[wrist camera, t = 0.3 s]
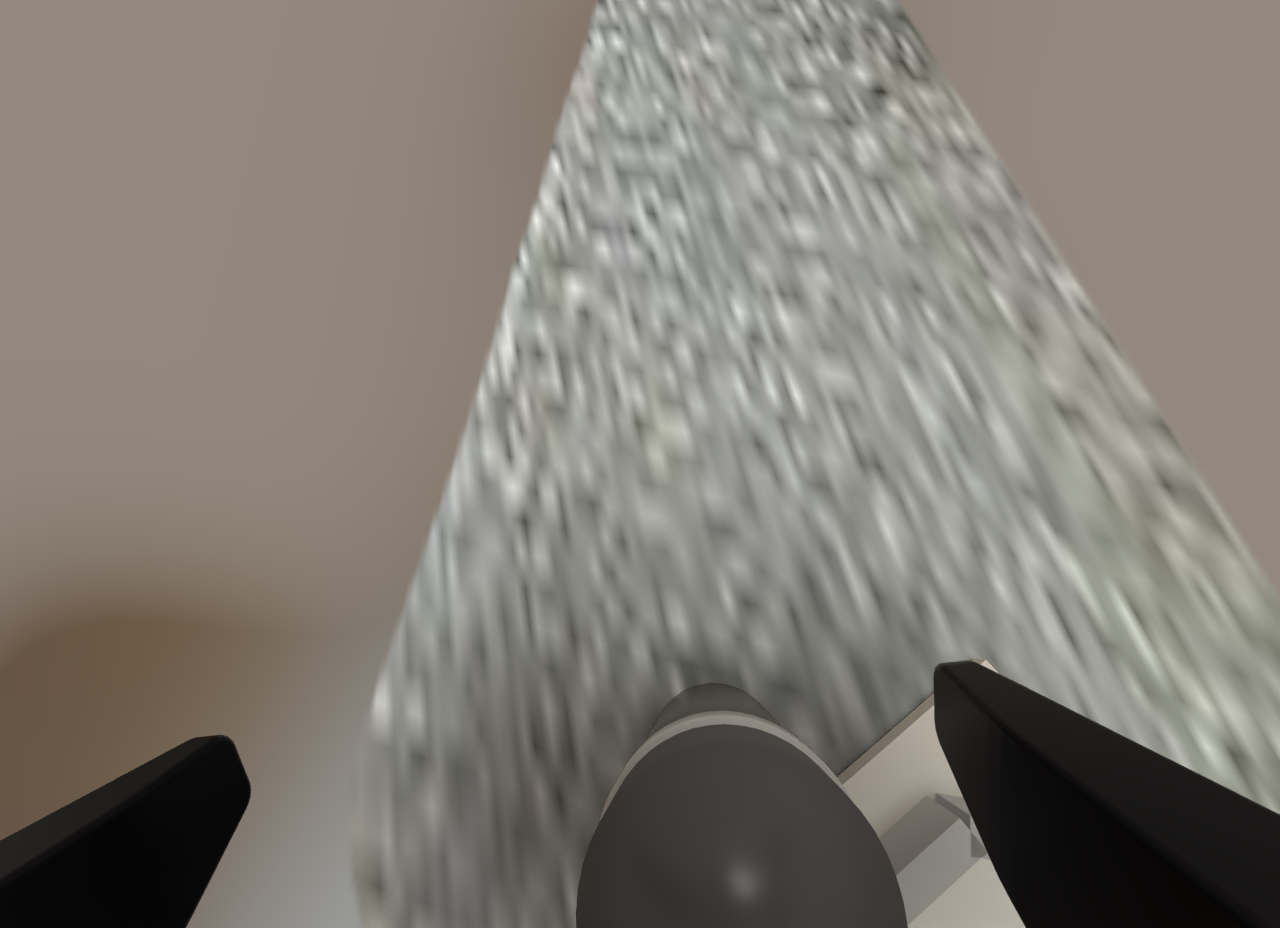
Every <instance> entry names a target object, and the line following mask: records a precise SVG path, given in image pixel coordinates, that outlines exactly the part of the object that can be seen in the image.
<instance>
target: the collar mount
mask: <svg viewBox="0 0 1280 928" xmlns="http://www.w3.org/2000/svg"><path fill="white" fill-rule="evenodd" d="M971 661H974V662H976V663H979V664H981V665H983V666H985V667H987V668H989V669H991V670H993V671H995V672H997V671H996V670H995V669H994V668H993V667H992V666H991V665H990V664H989V663H988V662H987V660H982V659H972V660H971ZM997 673H998V672H997ZM837 778H838V779H839V781H840V782H841V784H842V785H843V787H844V788H845V790H846V791H847V792H848V794H849V796H850V797H851V799H852V801H853V803H854V804H855V805H856V806H857V807H858V808H859V809H860V811H861V812H862V813H863V815H864V816H865V818H866V819H867V820H868V822H869V823H870V825H871V826H872V828H873V829H874V831H875V832H876V834H877V836H878V838H879V840H880V841H881V843H882V845H883V847H884V849H885V851H886V852H887V855H888V857H889V860H890V862H891V864H892V867H893V869H894V872H895V874H896V877H897V880H898V884H899V887H900V891H901V894H902V898H903V901H904V907H905V913H906V919H907V925H908V928H1026V927H1025V926H1024V924H1023V922H1022V920H1021V918H1020V917H1019V915H1018V913H1017V911H1016V909H1015V908H1014V906H1013V904H1012V902H1011V900H1010V898H1009V896H1008V895H1007V893H1006V891H1005V889H1004V887H1003V885H1002V883H1001V881H1000V879H999V877H998V875H997V873H996V871H995V869H994V866H993V864H992V862H991V860H990V858H989V856H988V853H987V851H986V849H985V846H984V844H983V842H982V840H981V837H980V835H979V833H978V830H977V828H976V826H975V824H974V821H973V819H972V817H971V814H970V812H969V810H968V807H967V805H966V803H965V801H964V798H963V796H962V794H961V791H960V789H959V787H958V785H957V782H956V780H955V778H954V775H953V773H952V771H951V768H950V766H949V764H948V762H947V759H946V757H945V755H944V752H943V750H942V748H941V745H940V743H939V740H938V737H937V733H936V729H935V721H934V693H933V694H932V695H931V696H930V697H928V698H927V699H926V700H925V701H924V702H923V703H921V704H920V705H919V706H918V707H917V708H916V709H915V710H913V711H912V712H911V713H910V714H909V715H908V716H907V717H905V718H904V719H903V720H902V721H901V722H900V723H899V724H897V725H896V726H895V727H894V728H893V729H892V730H890V731H889V732H888V733H887V734H886V735H885V736H884V737H882V738H881V739H880V740H879V741H878V742H877V743H876V744H874V745H873V746H872V747H871V748H870V749H869V750H868V751H866V752H865V753H864V754H863V755H862V756H861V757H860V758H858V759H857V760H856V761H855V762H854V763H853V764H851V765H850V766H849V767H848V768H847V769H846V770H845V771H843V772H842V773H841V774H840V775H839V776H838V777H837Z"/></svg>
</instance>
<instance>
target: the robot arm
mask: <svg viewBox="0 0 1280 928" xmlns="http://www.w3.org/2000/svg"><path fill="white" fill-rule="evenodd" d="M934 721H935V729H936V733H937V737H938V740H939V743H940V745H941V748H942V750H943V752H944V755H945V757H946V759H947V762H948V764H949V766H950V768H951V771H952V773H953V775H954V778H955V780H956V782H957V785H958V787H959V789H960V791H961V794H962V796H963V798H964V801H965V803H966V805H967V807H968V810H969V812H970V814H971V817H972V819H973V821H974V824H975V826H976V828H977V830H978V833H979V835H980V837H981V840H982V842H983V844H984V846H985V849H986V851H987V853H988V856H989V858H990V860H991V862H992V864H993V866H994V869H995V871H996V873H997V875H998V877H999V879H1000V881H1001V883H1002V885H1003V887H1004V889H1005V891H1006V893H1007V895H1008V896H1009V898H1010V900H1011V902H1012V904H1013V906H1014V908H1015V909H1016V911H1017V913H1018V915H1019V917H1020V918H1021V920H1022V922H1023V924H1024V926H1025V927H1026V928H1280V814H1278V813H1276V812H1274V811H1272V810H1270V809H1268V808H1266V807H1264V806H1262V805H1260V804H1258V803H1256V802H1254V801H1252V800H1250V799H1248V798H1246V797H1244V796H1242V795H1240V794H1238V793H1236V792H1234V791H1232V790H1230V789H1228V788H1226V787H1224V786H1222V785H1220V784H1218V783H1216V782H1214V781H1212V780H1210V779H1208V778H1206V777H1204V776H1202V775H1200V774H1198V773H1196V772H1194V771H1192V770H1190V769H1188V768H1186V767H1184V766H1182V765H1180V764H1178V763H1176V762H1174V761H1172V760H1170V759H1168V758H1166V757H1164V756H1162V755H1160V754H1158V753H1156V752H1154V751H1152V750H1150V749H1148V748H1146V747H1144V746H1142V745H1140V744H1138V743H1136V742H1134V741H1132V740H1130V739H1128V738H1126V737H1124V736H1122V735H1120V734H1118V733H1116V732H1114V731H1112V730H1110V729H1108V728H1106V727H1104V726H1102V725H1100V724H1098V723H1096V722H1094V721H1092V720H1090V719H1088V718H1086V717H1084V716H1082V715H1080V714H1078V713H1076V712H1074V711H1072V710H1070V709H1068V708H1066V707H1064V706H1062V705H1060V704H1058V703H1056V702H1054V701H1052V700H1050V699H1048V698H1046V697H1044V696H1042V695H1040V694H1038V693H1036V692H1034V691H1032V690H1030V689H1028V688H1026V687H1025V686H1023V685H1021V684H1019V683H1017V682H1015V681H1013V680H1011V679H1009V678H1007V677H1005V676H1003V675H1001V674H999V673H997V672H995V671H993V670H991V669H989V668H987V667H985V666H983V665H981V664H979V663H976V662H974V661H958V662H948V663H940V664H939V665H937V666H936V667H935V671H934ZM250 795H251V785H250V781H249V779H248V776H247V774H246V771H245V769H244V766H243V764H242V761H241V759H240V756H239V754H238V751H237V749H236V746H235V744H234V742H233V741H232V740H231V739H230V738H229V737H228V736H224V735H214V736H205V737H196V738H193V739H190V740H188V741H186V742H184V743H182V744H180V745H178V746H177V747H175V748H173V749H171V750H169V751H167V752H165V753H164V754H162V755H160V756H158V757H156V758H154V759H152V760H150V761H149V762H147V763H145V764H143V765H141V766H139V767H137V768H135V769H134V770H132V771H130V772H128V773H126V774H124V775H122V776H120V777H119V778H117V779H115V780H113V781H111V782H109V783H107V784H105V785H104V786H102V787H100V788H98V789H96V790H94V791H92V792H90V793H89V794H87V795H85V796H83V797H81V798H79V799H77V800H75V801H74V802H72V803H70V804H68V805H66V806H65V807H62V808H61V809H59V810H57V811H55V812H53V813H51V814H49V815H47V816H46V817H44V818H42V819H40V820H38V821H36V822H34V823H33V824H31V825H29V826H27V827H25V828H23V829H21V830H19V831H17V832H16V833H14V834H12V835H10V836H8V837H6V838H4V839H3V840H1V841H0V928H186V927H187V925H188V923H189V921H190V919H191V917H192V915H193V913H194V911H195V909H196V907H197V905H198V903H199V901H200V899H201V897H202V895H203V894H204V891H205V889H206V888H207V885H208V884H209V882H210V880H211V878H212V875H213V874H214V872H215V870H216V868H217V866H218V864H219V862H220V860H221V858H222V856H223V854H224V851H225V850H226V848H227V846H228V844H229V842H230V840H231V838H232V836H233V834H234V832H235V830H236V828H237V826H238V824H239V822H240V820H241V818H242V816H243V814H244V812H245V810H246V808H247V806H248V803H249V800H250Z"/></svg>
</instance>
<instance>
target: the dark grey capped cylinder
mask: <svg viewBox="0 0 1280 928" xmlns="http://www.w3.org/2000/svg"><path fill="white" fill-rule="evenodd" d="M576 926H577V928H908V925H907V919H906V913H905V907H904V901H903V898H902V894H901V891H900V887H899V884H898V880H897V877H896V874H895V872H894V869H893V867H892V864H891V862H890V860H889V857H888V855H887V852H886V851H885V849H884V847H883V845H882V843H881V841H880V840H879V838H878V836H877V834H876V832H875V831H874V829H873V828H872V826H871V825H870V823H869V822H868V820H867V819H866V818H865V816H864V815H863V813H862V812H861V811H860V809H859V808H858V807H857V806H856V805H855V804H854V803H853V801H852V799H851V797H850V796H849V794H848V792H847V791H846V790H845V788H844V787H843V785H842V784H841V782H840V781H839V779H838V778H837V777H836V776H835V774H834V773H833V772H832V771H831V770H830V769H829V768H828V767H827V765H826V764H825V763H824V762H823V761H822V760H821V759H820V758H819V757H818V756H817V755H816V754H815V753H814V752H813V751H812V750H811V749H810V748H808V747H807V746H806V745H805V744H804V743H803V742H802V741H801V740H799V739H798V738H797V737H795V736H794V735H793V734H791V733H790V732H788V731H787V730H785V729H784V728H782V726H781V725H780V724H779V723H778V722H777V721H776V720H775V719H774V718H773V717H772V716H771V715H770V714H769V713H768V712H767V711H766V710H765V709H764V708H763V707H762V706H761V705H760V703H758V702H757V701H756V700H755V699H754V698H753V697H751V696H750V695H748V694H747V693H746V692H744V691H742V690H740V689H738V688H735V687H732V686H729V685H725V684H717V683H709V684H702V685H697V686H694V687H691V688H689V689H687V690H685V691H683V692H681V693H680V694H678V695H677V696H676V697H675V698H673V699H672V700H671V701H670V702H669V703H668V705H667V706H666V707H665V708H664V710H663V711H662V713H661V714H660V716H659V718H658V720H657V721H656V723H655V725H654V727H653V728H652V730H651V732H650V734H649V736H648V737H647V739H646V741H645V743H644V744H643V745H641V746H640V747H639V749H638V750H637V751H636V752H635V754H634V755H633V756H632V757H631V759H630V760H629V761H628V763H627V765H626V766H625V768H624V769H623V771H622V773H621V774H620V776H619V778H618V779H617V781H616V783H615V784H614V786H613V787H612V789H611V791H610V794H609V796H608V798H607V800H606V802H605V805H604V807H603V810H602V814H601V817H600V820H599V823H598V826H597V829H596V831H595V833H594V835H593V837H592V840H591V842H590V844H589V847H588V850H587V854H586V857H585V860H584V863H583V866H582V872H581V877H580V882H579V887H578V896H577V909H576Z"/></svg>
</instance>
